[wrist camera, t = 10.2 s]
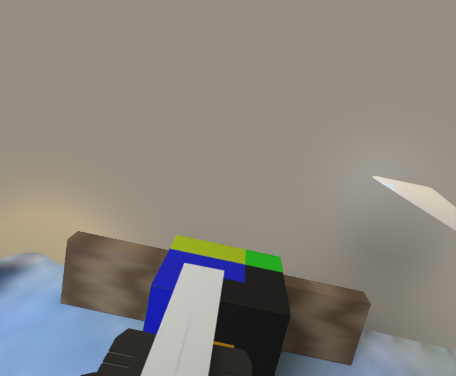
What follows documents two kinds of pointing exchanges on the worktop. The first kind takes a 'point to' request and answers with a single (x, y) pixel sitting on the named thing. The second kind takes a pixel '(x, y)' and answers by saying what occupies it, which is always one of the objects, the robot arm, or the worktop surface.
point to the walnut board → (151, 262)
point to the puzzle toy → (231, 298)
